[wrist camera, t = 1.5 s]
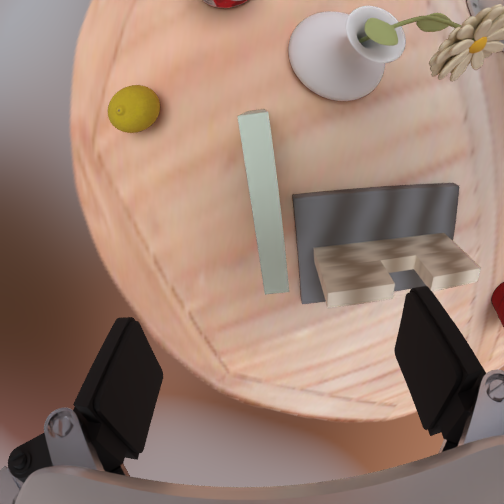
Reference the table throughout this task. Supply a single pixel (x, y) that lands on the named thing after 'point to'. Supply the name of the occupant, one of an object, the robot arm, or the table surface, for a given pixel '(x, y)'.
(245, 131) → the sage plate
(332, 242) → the board
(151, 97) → the lemon
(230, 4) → the soda can
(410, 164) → the table surface
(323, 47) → the flower in vase
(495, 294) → the plastic cup
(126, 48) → the table surface
